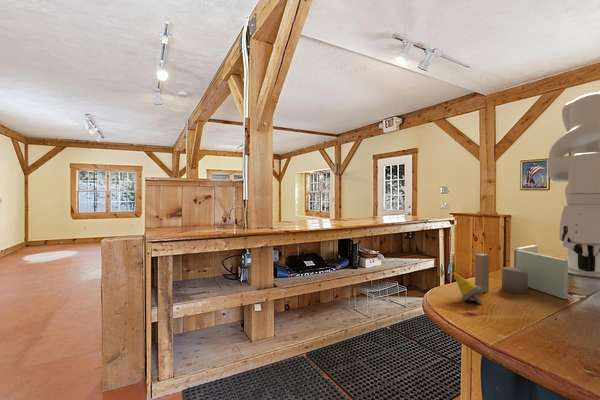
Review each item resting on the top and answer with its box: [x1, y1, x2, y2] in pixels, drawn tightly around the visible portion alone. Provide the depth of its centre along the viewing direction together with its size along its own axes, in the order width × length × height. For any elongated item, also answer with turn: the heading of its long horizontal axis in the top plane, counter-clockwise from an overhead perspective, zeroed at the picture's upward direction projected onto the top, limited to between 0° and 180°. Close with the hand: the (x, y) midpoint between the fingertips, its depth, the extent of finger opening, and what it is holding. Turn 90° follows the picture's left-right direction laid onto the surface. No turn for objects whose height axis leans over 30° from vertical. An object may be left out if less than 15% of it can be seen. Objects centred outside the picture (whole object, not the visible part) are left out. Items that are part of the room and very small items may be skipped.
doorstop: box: [501, 266, 529, 295], centre depth 85 cm, size 6×6×6 cm
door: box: [513, 248, 569, 300], centre depth 85 cm, size 15×1×10 cm, turn 10°
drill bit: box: [452, 271, 483, 305], centre depth 78 cm, size 5×5×10 cm
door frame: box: [474, 244, 539, 294], centre depth 90 cm, size 28×2×10 cm, turn 115°
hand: (586, 270), depth 79 cm, fingers closed
